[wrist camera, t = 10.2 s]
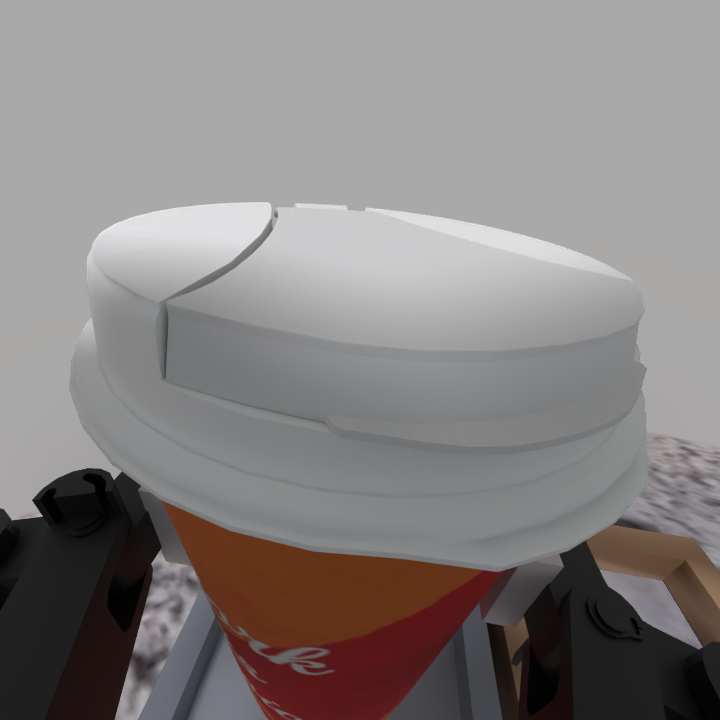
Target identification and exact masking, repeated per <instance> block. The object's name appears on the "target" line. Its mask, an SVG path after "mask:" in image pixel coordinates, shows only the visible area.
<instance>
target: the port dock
mask: <svg viewBox="0 0 720 720" xmlns="http://www.w3.org/2000/svg"><path fill="white" fill-rule="evenodd" d="M138 720H268V719H267V717H266V716H265V714H264V713H263V711H262V710H261V708H260V706H259V704H258V703H257V701H256V699H255V697H254V695H253V693H252V691H251V689H250V687H249V685H248V683H247V681H246V679H245V677H244V675H243V673H242V671H241V669H240V667H239V665H238V663H237V661H236V659H235V657H234V655H233V652H232V650H231V648H230V646H229V644H228V642H227V640H226V638H225V636H224V633H223V631H222V629H221V627H220V625H219V623H218V621H217V618H216V616H215V614H214V612H213V610H212V608H211V606H210V603H209V601H208V599H207V597H206V595H205V593H204V590H203V588H202V589H201V591H200V593H199V595H198V597H197V599H196V601H195V603H194V605H193V608H192V610H191V612H190V614H189V616H188V618H187V620H186V622H185V624H184V626H183V628H182V630H181V632H180V634H179V636H178V638H177V640H176V643H175V645H174V647H173V649H172V651H171V653H170V655H169V657H168V659H167V661H166V663H165V665H164V667H163V669H162V671H161V673H160V676H159V678H158V680H157V682H156V684H155V686H154V688H153V690H152V692H151V694H150V696H149V698H148V700H147V702H146V704H145V706H144V708H143V711H142V713H141V715H140V717H139V719H138ZM386 720H502V714H501V708H500V702H499V696H498V690H497V684H496V678H495V672H494V666H493V660H492V654H491V648H490V642H489V636H488V630H487V624H486V622H482V617H481V611H480V604H478V605H477V606H476V607H475V609H474V610H473V611H472V613H471V614H470V615H469V616H468V618H467V619H466V620H465V622H464V623H463V624H462V625H461V627H460V628H459V629H458V631H457V632H456V633H455V634H454V636H453V637H452V638H451V640H450V641H449V642H448V643H447V645H446V646H445V647H444V649H443V650H442V651H441V652H440V654H439V655H438V656H437V658H436V659H435V660H434V661H433V663H432V664H431V665H430V666H429V668H428V669H427V670H426V671H425V673H424V674H423V675H422V676H421V678H420V679H419V680H418V681H417V683H416V684H415V685H414V686H413V688H412V689H411V690H410V692H409V693H408V694H407V695H406V696H405V698H404V699H403V700H402V701H401V702H400V704H399V705H398V706H397V707H396V709H395V710H394V711H393V712H392V713H391V714H390V715H389V716H388V718H387V719H386Z"/></svg>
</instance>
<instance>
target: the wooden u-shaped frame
mask: <svg viewBox="0 0 720 720" xmlns="http://www.w3.org/2000/svg"><path fill="white" fill-rule="evenodd" d="M586 542H587V544H588V546H589V548H590V550H591V553H592V555H593V557H594V559H595V561H596V563H597V566H598V568H599V569H603V570H608V571H614V572H620V573H626V574H631V575H637V576H643V577H648V578H654V579H660V580H663V581H664V583H665V584H666V586H667V588H668V589H669V591H670V592H671V594H672V596H673V597H674V599H675V601H676V602H677V604H678V606H679V607H680V609H681V611H682V612H683V614H684V616H685V617H686V619H687V621H688V622H689V624H690V626H691V627H692V629H693V631H694V632H695V634H696V635H697V637H698V639H699V640H700V642H701V644H702V645H703V647H704V646H706V645H708V644H709V643H711V642H720V572H719V571H718V570H717V568H716V567H715V566H714V564H713V563H712V562H711V560H710V559H709V558H708V556H707V555H706V554H705V552H704V551H703V550H702V548H701V547H700V546H699V544H698V543H697V542H696V540H695V539H693V538H687V537H681V536H675V535H669V534H663V533H657V532H651V531H645V530H639V529H633V528H627V527H621V526H615V525H610V526H609V527H607V528H605V529H604V530H602V531H600V532H599V533H597V534H595V535H594V536H592V537H590V538H589V539H587V540H586ZM486 624H487V630H488V636H489V642H490V648H491V654H492V660H493V666H494V672H495V678H496V684H497V690H498V696H499V702H500V708H501V714H502V720H518V708H519V694H520V681H521V668H522V661H521V662H520V663H519V664H518V665H517V666H515V665H513V664H512V663H511V662H512V659H513V656H514V653H515V652H516V651H517V650H518V649H519V648H520V646H521V645H522V644H523V643H524V642H525V641H526V640H527V638H528V637H529V635H528V631H527V627H526V623H525V619H524V617H523V619H522V620H521V621H520V622H519V624H518V625H517V626H516V627H515V628H513V627H508V626H502V625H497V624H492V623H487V622H486Z"/></svg>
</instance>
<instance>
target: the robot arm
mask: <svg viewBox="0 0 720 720" xmlns="http://www.w3.org/2000/svg"><path fill="white" fill-rule="evenodd" d="M32 501H33V502H34V504H35V505H36V507H37V508H38V510H39V511H40V513H41V514H42V516H43V517H37V518H29V519H21V520H13V521H12V520H11V518H10V517H9V516H8V514H7V513H6V512H5V510H4V509H0V720H114V719H115V716H116V712H117V708H118V704H119V701H120V697H121V693H122V689H123V686H124V682H125V678H126V674H127V671H128V667H129V663H130V659H131V656H132V652H133V648H134V644H135V641H136V637H137V633H138V629H139V626H140V622H141V618H142V614H143V611H144V607H145V603H146V599H147V596H148V592H149V588H150V584H151V581H152V572H153V568H152V565H151V563H152V562H153V560H154V559H155V557H156V555H157V554H158V552H159V551H160V549H161V550H162V553H163V555H164V558H165V560H166V561H169V562H174V563H179V564H185V565H190V566H192V565H191V562H190V560H189V558H188V556H187V554H186V552H185V549H184V547H183V545H182V543H181V541H180V539H179V537H178V534H177V532H176V530H175V528H174V526H173V524H172V522H171V519H170V517H169V515H168V513H167V511H166V509H165V507H164V504H163V502H162V500H160V499H159V498H158V497H156V496H155V495H153V494H152V493H151V492H149V491H148V490H147V489H145V488H144V487H142V486H141V485H140V484H138V483H137V482H136V481H134V480H133V479H132V478H130V477H129V476H127V475H126V474H125V473H123V472H121V473H120V474H119V475H118V476H117V478H116V479H115V480H113V478H112V476H111V474H110V473H109V472H107V471H104V470H102V469H93V468H87V469H83V470H78V471H74V472H71V473H69V474H66V475H64V476H62V477H60V478H57V479H56V480H54V481H53V482H51V483H50V484H49V485H47V486H46V487H44V488H43V489H42V490H41V491H40V492H39V493H38V494H37V496H35V498H34V499H33V500H32ZM479 604H480V611H481V617H482V622H487V623H492V624H497V625H502V626H508V627H513V628H515V627H516V626H517V625H518V624H519V622H520V621H521V620H522V619H523V617H524V619H525V623H526V627H527V631H528V635H529V637H528V638H527V640H526V641H525V642H524V643H523V644H522V645H521V646H520V648H519V649H518V650H517V651H516V652H515V653H514V656H513V659H512V662H511V663H512V664H513V665H515V666H517V665H518V664H519V663H520V662H521V661H522V668H521V681H520V694H519V708H518V720H720V642H711V643H709V644H708V645H706V646H704V647H703V648H701V649H697V648H695V647H693V646H691V645H689V644H687V643H685V642H683V641H681V640H679V639H677V638H674V637H672V636H670V635H668V634H666V633H664V632H662V631H660V630H658V629H656V628H654V627H652V626H651V625H649V624H647V623H646V622H644V621H642V619H641V618H640V616H639V615H638V613H637V612H636V611H635V609H634V608H633V607H632V606H631V605H630V604H629V603H628V602H627V601H626V600H625V599H624V598H623V597H622V596H621V595H620V594H619V593H617V592H616V591H614V590H613V589H611V588H609V587H608V585H607V584H606V582H605V580H604V578H603V576H602V574H601V572H600V570H599V568H598V566H597V563H596V561H595V559H594V557H593V555H592V553H591V550H590V548H589V546H588V544H587V542H586V540H585V541H584V542H582V543H580V544H579V545H577V546H575V547H574V548H572V549H570V550H569V551H566V552H563V553H560V554H556V555H553V556H550V557H546V558H543V559H540V560H536V561H533V562H530V563H526V564H523V565H520V566H516V567H513V568H510V569H506V570H504V572H503V573H502V574H501V575H500V577H499V578H498V579H497V581H496V582H495V583H494V584H493V586H492V587H491V588H490V589H489V591H488V592H487V593H486V595H485V596H484V597H483V598H482V600H481V601H480V602H479Z"/></svg>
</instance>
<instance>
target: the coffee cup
mask: <svg viewBox="0 0 720 720" xmlns="http://www.w3.org/2000/svg"><path fill="white" fill-rule="evenodd" d="M274 216H275V218H278V221H277V223H276V226H275V227H274V229H272V207H271V205H270V203H269V202H249V203H223V204H207V205H196V206H188V207H179V208H172V209H167V210H161V211H155V212H151V213H147V214H143V215H139V216H135V217H132V218H129V219H126V220H124V221H121V222H118V223H116V224H114V225H112V226H111V227H109V228H107V229H106V230H104V231H103V232H101V233H100V234H99V235H98V237H97V238H96V239H95V241H94V242H93V243H92V250H91V251H90V253H89V254H88V258H87V288H88V295H89V302H90V308H91V315H92V317H91V318H90V319H89V321H88V322H87V323H86V325H85V327H84V329H83V331H82V333H81V336H80V338H79V340H78V342H77V344H76V347H75V354H74V356H73V358H72V361H71V376H70V392H71V395H72V398H73V401H74V404H75V406H76V410H77V413H78V416H79V418H80V421H81V424H82V426H83V428H84V430H85V431H86V432H87V433H88V434H89V436H90V437H91V438H92V440H93V441H94V442H95V443H96V445H97V446H98V447H99V448H100V450H101V451H102V452H103V453H104V455H105V456H106V457H107V458H108V460H109V461H110V462H111V464H112V465H114V466H115V467H116V468H118V469H119V470H121V471H122V472H123V473H125V474H126V475H127V476H129V477H130V478H132V479H133V480H134V481H136V482H137V483H138V484H140V485H141V486H142V487H144V488H145V489H147V490H148V491H149V492H151V493H152V494H153V495H155V496H156V497H158V498H159V499H160V500H162V502H163V504H164V507H165V509H166V511H167V513H168V515H169V517H170V519H171V522H172V524H173V526H174V528H175V530H176V532H177V534H178V537H179V539H180V541H181V543H182V545H183V547H184V549H185V552H186V554H187V556H188V558H189V560H190V562H191V565H192V567H193V569H194V571H195V573H196V575H197V577H198V580H199V582H200V584H201V586H202V588H203V590H204V593H205V595H206V597H207V599H208V601H209V603H210V606H211V608H212V610H213V612H214V614H215V616H216V618H217V621H218V623H219V625H220V627H221V629H222V631H223V633H224V636H225V638H226V640H227V642H228V644H229V646H230V648H231V650H232V652H233V655H234V657H235V659H236V661H237V663H238V665H239V667H240V669H241V671H242V673H243V675H244V677H245V679H246V681H247V683H248V685H249V687H250V689H251V691H252V693H253V695H254V697H255V699H256V701H257V703H258V704H259V706H260V708H261V710H262V711H263V713H264V714H265V716H266V717H267V719H268V720H386V719H387V718H388V716H389V715H390V714H391V713H392V712H393V711H394V710H395V709H396V707H397V706H398V705H399V704H400V702H401V701H402V700H403V699H404V698H405V696H406V695H407V694H408V693H409V692H410V690H411V689H412V688H413V686H414V685H415V684H416V683H417V681H418V680H419V679H420V678H421V676H422V675H423V674H424V673H425V671H426V670H427V669H428V668H429V666H430V665H431V664H432V663H433V661H434V660H435V659H436V658H437V656H438V655H439V654H440V652H441V651H442V650H443V649H444V647H445V646H446V645H447V643H448V642H449V641H450V640H451V638H452V637H453V636H454V634H455V633H456V632H457V631H458V629H459V628H460V627H461V625H462V624H463V623H464V622H465V620H466V619H467V618H468V616H469V615H470V614H471V613H472V611H473V610H474V609H475V607H476V606H477V605H478V604H479V602H480V601H481V600H482V598H483V597H484V596H485V595H486V593H487V592H488V591H489V589H490V588H491V587H492V586H493V584H494V583H495V582H496V581H497V579H498V578H499V577H500V575H501V574H502V573H503V572H504V570H506V569H510V568H513V567H516V566H520V565H523V564H526V563H530V562H533V561H536V560H540V559H543V558H546V557H550V556H553V555H556V554H560V553H563V552H566V551H569V550H570V549H572V548H574V547H575V546H577V545H579V544H580V543H582V542H584V541H585V540H587V539H589V538H590V537H592V536H594V535H595V534H597V533H599V532H600V531H602V530H604V529H605V528H607V527H609V526H610V525H612V524H614V523H616V522H617V521H618V520H619V518H620V517H621V516H622V515H623V514H624V513H625V512H626V510H627V509H628V508H629V507H630V506H631V505H632V504H633V502H634V501H635V500H636V499H637V498H638V497H639V496H640V494H641V493H642V492H643V491H644V490H645V489H646V488H647V486H648V485H649V481H648V468H647V454H646V414H645V399H644V396H643V393H642V390H641V387H642V383H643V379H644V375H645V372H646V368H645V366H643V365H642V364H641V363H640V351H639V349H638V346H637V344H636V340H637V333H638V325H639V320H640V319H641V317H642V315H643V313H644V307H643V300H642V296H641V294H640V292H639V290H638V288H637V286H636V284H635V282H634V281H633V280H632V279H630V278H629V277H628V276H626V275H624V274H623V273H621V272H619V271H617V270H616V269H614V268H612V267H610V266H609V265H606V264H604V263H602V262H600V261H597V260H595V259H593V258H591V257H589V256H586V255H583V254H581V253H578V252H575V251H573V250H570V249H568V248H564V247H561V246H558V245H555V244H552V243H549V242H546V241H543V240H539V239H536V238H532V237H529V236H525V235H521V234H517V233H513V232H509V231H505V230H501V229H497V228H492V227H488V226H483V225H479V224H474V223H469V222H464V221H458V220H453V219H447V218H441V217H435V216H429V215H422V214H416V213H409V212H401V211H393V210H385V209H376V208H366V209H365V211H351V210H348V208H347V206H342V205H324V204H305V203H296V204H295V206H294V208H284V207H277V208H276V210H275V212H274Z"/></svg>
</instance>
